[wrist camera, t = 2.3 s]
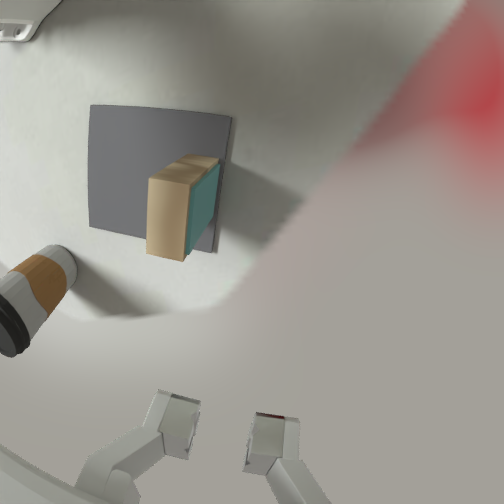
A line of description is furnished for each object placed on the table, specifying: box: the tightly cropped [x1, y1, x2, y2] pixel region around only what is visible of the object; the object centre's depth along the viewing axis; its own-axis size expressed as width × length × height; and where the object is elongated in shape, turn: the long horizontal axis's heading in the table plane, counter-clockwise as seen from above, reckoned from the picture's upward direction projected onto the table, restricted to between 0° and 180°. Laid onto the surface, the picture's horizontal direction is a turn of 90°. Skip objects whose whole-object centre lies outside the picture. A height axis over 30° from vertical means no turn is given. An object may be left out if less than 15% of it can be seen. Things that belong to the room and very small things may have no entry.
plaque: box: [146, 154, 220, 262], centre depth 26 cm, size 3×6×9 cm, turn 170°
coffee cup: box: [0, 245, 77, 358], centre depth 31 cm, size 8×8×15 cm
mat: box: [88, 105, 232, 253], centre depth 30 cm, size 15×14×1 cm
